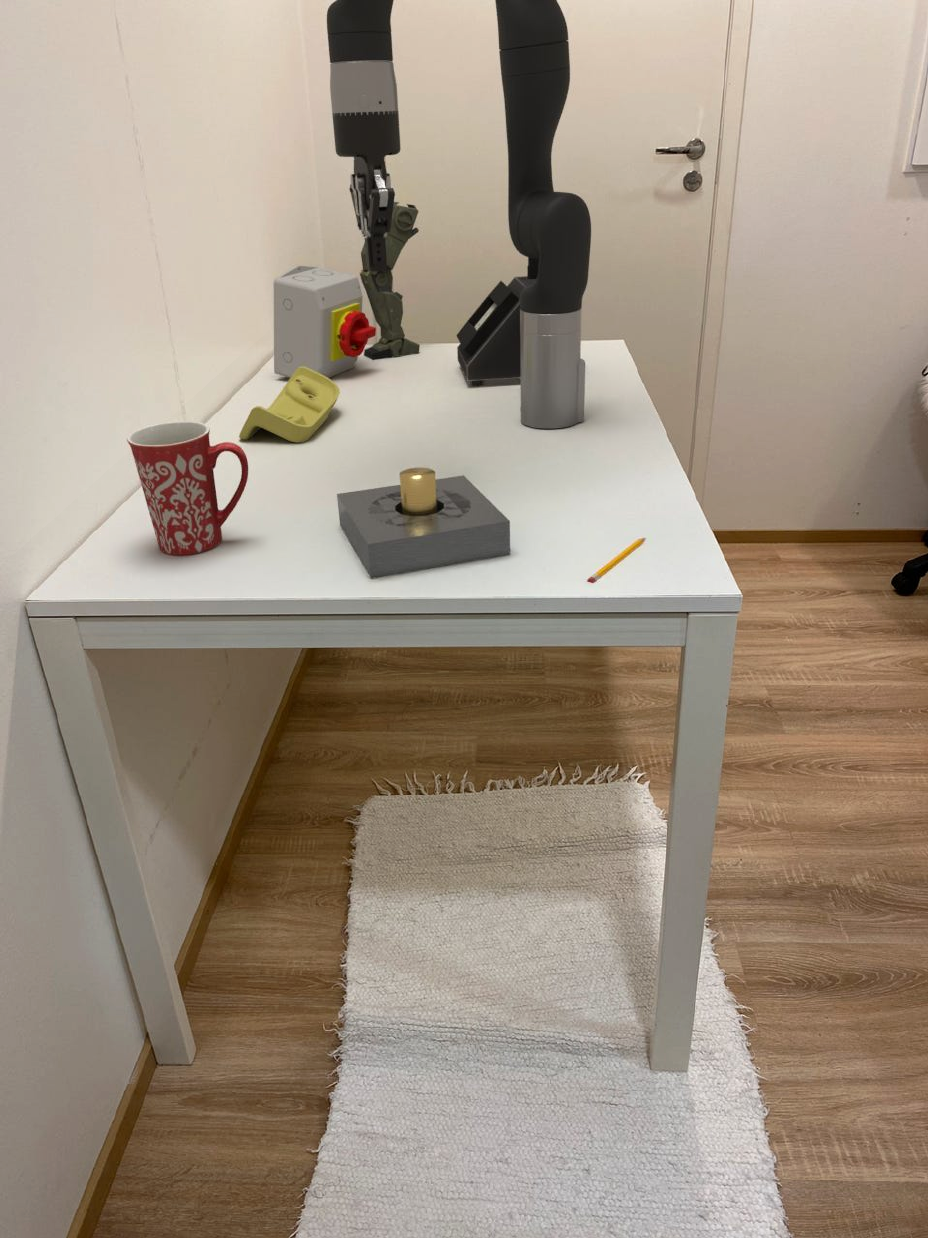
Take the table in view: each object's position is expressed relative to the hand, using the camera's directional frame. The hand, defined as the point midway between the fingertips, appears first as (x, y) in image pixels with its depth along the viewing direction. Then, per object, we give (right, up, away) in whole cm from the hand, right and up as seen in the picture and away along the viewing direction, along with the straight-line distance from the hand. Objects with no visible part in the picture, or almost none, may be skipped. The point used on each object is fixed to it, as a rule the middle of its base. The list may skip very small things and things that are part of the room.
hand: (377, 269), depth 114 cm
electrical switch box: (-15, +4, +66) cm, 68 cm away
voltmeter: (+18, +3, +61) cm, 64 cm away
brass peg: (+6, -33, -5) cm, 34 cm away
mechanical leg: (-4, +12, +80) cm, 81 cm away
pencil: (+28, -37, -12) cm, 47 cm away
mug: (-20, -34, -4) cm, 39 cm away
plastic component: (-16, -12, +37) cm, 42 cm away
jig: (+6, -33, -5) cm, 34 cm away
